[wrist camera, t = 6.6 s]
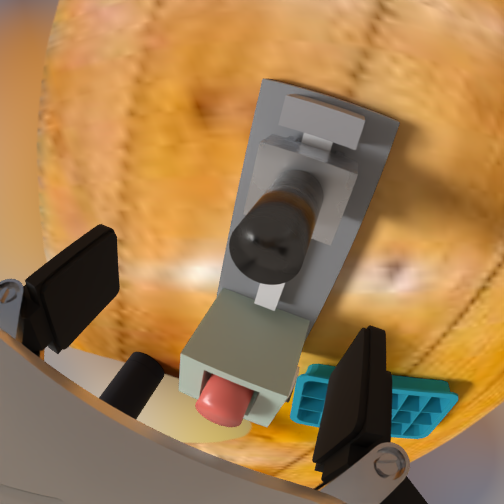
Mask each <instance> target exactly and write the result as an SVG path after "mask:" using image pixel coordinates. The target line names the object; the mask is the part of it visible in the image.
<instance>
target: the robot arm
mask: <svg viewBox="0 0 504 504" xmlns="http://www.w3.org/2000/svg"><path fill="white" fill-rule="evenodd" d="M25 282H26V285H25V286H23V285H22V283H21V282H20V281H18V280H16V279H6V280H3V281H1V282H0V504H428V503H427V502H426V501H425V499H424V498H423V497H422V495H421V494H420V493H419V492H418V490H417V489H416V488H415V487H414V485H413V484H412V483H411V481H410V480H409V479H408V477H407V474H408V472H409V468H410V461H409V458H408V455H407V453H406V452H405V450H404V449H403V448H402V447H400V446H399V445H397V444H395V443H390V441H391V423H392V374H391V372H389V371H386V333H385V330H382V329H379V328H376V327H373V326H368V327H367V329H366V328H362V329H361V330H360V332H359V333H358V335H357V336H356V338H355V339H354V341H353V342H352V344H351V345H350V347H349V348H348V350H347V351H346V353H345V354H344V356H343V357H342V359H341V360H340V362H339V363H338V364H337V366H336V367H335V369H334V370H333V372H332V373H331V375H330V378H329V381H328V387H327V392H326V398H325V403H324V408H323V413H322V418H321V423H320V428H319V432H318V437H317V441H316V446H315V450H314V454H313V460H312V461H313V462H314V463H316V467H315V471H319V472H323V474H322V478H321V479H322V481H323V482H322V483H320V484H319V485H317V486H316V487H315V488H313V489H312V488H309V487H306V486H302V485H299V484H296V483H293V482H290V481H286V480H283V479H279V478H276V477H273V476H270V475H266V474H263V473H260V472H257V471H254V470H251V469H248V468H246V467H243V466H240V465H237V464H234V463H231V462H229V461H226V460H223V459H221V458H218V457H216V456H213V455H210V454H208V453H206V452H203V451H201V450H198V449H196V448H194V447H191V446H189V445H187V444H184V443H182V442H180V441H178V440H176V439H173V438H171V437H169V436H167V435H165V434H163V433H161V432H159V431H157V430H155V429H153V428H151V427H149V426H146V425H145V424H143V423H141V422H139V421H137V420H136V419H134V418H132V417H130V416H128V415H126V414H125V413H123V412H121V411H119V410H118V409H116V408H114V407H112V406H111V405H109V404H107V403H106V402H104V401H102V400H101V399H99V398H97V397H96V396H94V395H92V394H91V393H90V392H88V391H86V390H85V389H83V388H82V387H80V386H79V385H77V384H76V383H74V382H73V381H71V380H70V379H68V378H67V377H65V376H64V375H62V374H61V373H60V372H58V371H57V370H56V369H54V368H53V367H51V366H50V365H48V364H47V363H46V362H44V349H45V348H46V347H47V346H48V347H49V348H50V349H51V350H53V351H54V352H56V353H57V354H59V352H60V351H61V350H62V349H66V348H67V347H69V345H70V344H71V343H72V342H73V341H74V340H75V339H76V338H77V337H78V336H79V334H80V333H81V332H82V331H83V330H84V329H85V328H86V327H87V326H88V325H89V324H90V323H91V322H92V320H93V319H94V318H95V317H96V316H97V315H98V314H99V313H100V312H101V311H102V310H103V309H104V308H105V307H106V306H107V305H108V304H109V303H110V302H111V301H112V300H113V298H114V297H115V296H116V295H117V294H118V292H119V287H120V286H119V272H118V253H117V236H116V234H115V232H114V230H113V229H112V228H109V227H107V226H104V225H102V224H99V225H97V226H96V227H94V228H93V229H92V230H90V231H89V232H87V233H86V234H85V235H83V236H82V237H80V238H79V239H78V240H76V241H75V242H73V243H72V244H71V245H69V246H68V247H67V248H65V249H64V250H63V251H61V252H60V253H59V254H57V255H56V256H55V257H53V258H52V259H51V260H50V261H48V262H47V263H46V264H44V265H43V266H42V267H41V268H39V269H38V270H37V271H36V272H34V273H33V274H32V275H31V276H29V277H28V278H27V279H26V280H25Z"/></svg>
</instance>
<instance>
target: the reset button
mask: <svg viewBox="0 0 504 504" xmlns="http://www.w3.org/2000/svg"><path fill="white" fill-rule="evenodd" d="M253 393H254V390H252V389H249V388H247V387H244V386H241V385H239V384H236V383H234V382H231V381H229V380H227V379H224V378H222V377H219V376H217V375H215V374H211V376H210V378H209V380H208V382H207V384H206V386H205V387H204V389H203V391H202V393H201V395H200V397H199V399H198V400H197V402H196V405H195V406H196V409H197V411H198V412H199V413H200V414H201V415H202V416H203V417H205V418H206V419H208V420H210V421H211V422H213V423H216V424H218V425H221V426H226V427H236V426H239V425H240V424H241V422H242V420H243V417H244V415H245V412H246V410H247V408H248V405H249V403H250V400H251V398H252V395H253Z"/></svg>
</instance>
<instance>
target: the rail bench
mask: <svg viewBox="0 0 504 504" xmlns="http://www.w3.org/2000/svg"><path fill="white" fill-rule="evenodd" d="M399 124H400V122H398V121H397V120H395V119H393V118H390V117H388V116H385V115H383V114H380V113H378V112H375V111H372V110H370V109H367V108H364V107H362V106H359V105H356V104H353V103H350V102H348V101H345V100H342V99H339V98H336V97H332V96H329V95H326V94H323V93H320V92H316V91H313V90H309V89H306V88H302V87H299V86H295V85H291V84H287V83H284V82H280V81H276V80H271V79H263V80H262V84H261V88H260V93H259V97H258V101H257V106H256V110H255V114H254V119H253V123H252V128H251V132H250V137H249V141H248V146H247V150H246V155H245V159H244V164H243V169H242V173H241V178H240V183H239V187H238V192H237V197H236V202H235V207H234V211H233V216H232V221H231V226H230V231H229V236H228V241H227V246H226V251H225V256H224V261H223V266H222V271H221V277H220V282H219V287H218V292H217V298H216V300H215V301H214V303H213V304H212V306H211V307H210V309H209V311H208V312H207V314H206V315H205V317H204V318H203V320H202V321H201V323H200V324H199V326H198V327H197V329H196V331H195V332H194V334H193V335H192V337H191V338H190V340H189V341H188V343H187V344H186V346H185V347H184V349H183V351H182V352H181V357H180V374H179V391H180V392H182V393H184V394H186V395H189V396H191V397H193V398H195V399H197V400H198V399H199V397H200V395H201V393H202V391H203V389H204V387H205V386H206V384H207V382H208V380H209V378H210V376H211V374H215V375H217V376H219V377H222V378H224V379H227V380H229V381H231V382H234V383H236V384H239V385H241V386H244V387H247V388H249V389H252V390H254V393H253V395H252V398H251V400H250V403H249V405H248V408H247V410H246V412H245V415H244V417H243V419H246V420H248V421H251V422H254V423H256V424H259V425H262V426H265V427H268V425H269V424H270V423H271V421H272V420H273V418H274V417H275V415H276V414H277V412H278V411H279V409H280V408H281V406H282V405H283V403H284V402H289V401H290V397H291V394H292V391H293V387H294V385H295V382H296V379H297V376H298V373H299V367H298V366H297V365H298V362H299V358H300V355H301V351H302V348H303V344H304V342H305V340H306V338H307V336H308V334H309V333H310V331H311V329H312V327H313V325H314V323H315V321H316V319H317V317H318V315H319V313H320V311H321V309H322V307H323V305H324V303H325V301H326V299H327V297H328V295H329V293H330V291H331V289H332V287H333V285H334V283H335V280H336V278H337V276H338V274H339V272H340V270H341V268H342V266H343V263H344V261H345V259H346V257H347V255H348V252H349V250H350V248H351V246H352V244H353V241H354V239H355V237H356V234H357V232H358V230H359V227H360V225H361V223H362V220H363V218H364V216H365V213H366V211H367V209H368V206H369V204H370V201H371V199H372V196H373V194H374V191H375V189H376V186H377V184H378V181H379V179H380V176H381V173H382V171H383V168H384V166H385V163H386V160H387V158H388V155H389V152H390V149H391V147H392V144H393V141H394V138H395V135H396V132H397V130H398V127H399ZM272 134H275V135H278V136H282V137H285V138H287V137H289V136H294V137H297V138H298V142H301V143H304V144H307V145H310V146H313V147H316V148H319V149H322V150H325V151H328V152H331V153H334V154H336V151H339V152H341V153H344V157H345V158H348V159H350V160H353V161H356V162H358V176H357V179H356V182H355V184H354V187H353V190H352V192H351V195H350V198H349V200H348V203H347V205H346V208H345V211H344V213H343V216H342V218H341V221H340V223H339V226H338V228H337V231H336V233H335V236H334V238H333V241H332V243H331V246H330V245H328V244H325V243H322V242H319V241H317V240H314V239H311V241H310V244H309V247H308V250H307V253H306V256H305V259H304V262H303V264H302V267H301V269H300V271H299V273H298V274H297V275H296V276H295V277H294V278H293V279H291V280H290V281H288V282H285V283H283V284H278V285H267V284H262V283H258V282H256V281H253V280H252V279H250V278H248V277H247V276H245V275H244V274H243V273H242V272H241V271H240V270H239V269H238V268H237V267H236V265H235V264H234V262H233V260H232V258H231V255H230V250H229V241H230V237H231V235H232V232H233V231H234V229H235V228H236V227H237V226H238V224H239V223H240V222H241V221H242V220H243V218H244V217H245V216H246V215H244V214H243V213H244V209H245V204H246V200H247V195H248V191H249V187H250V182H251V178H252V173H253V169H254V165H255V160H256V156H257V152H258V148H259V143H260V141H262V140H264V139H265V138H267V137H268V136H270V135H272Z"/></svg>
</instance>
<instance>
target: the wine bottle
mask: <svg viewBox="0 0 504 504" xmlns="http://www.w3.org/2000/svg"><path fill="white" fill-rule="evenodd" d="M163 377H164V371H163V369H162V367H161V366H160V365H159V364H158V363H157V362H156V361H155V360H154V359H152V358H151V357H149V356H148V355H146V354H143V353H141V352H134V353H133V354H132V355H131V356H130V358H129V359H128V360H127V361H126V363H125V364H124V366H123V367H122V368H121V369H120V371H119V372H118V373H117V375H116V376H115V378H114V379H113V380H112V381H111V383H110V384H109V385H108V387H107V388H106V389H105V391H104V392H103V393H102V395H101V396H100V397H99V399H101V400H102V401H104V402H106V403H107V404H109V405H111V406H112V407H114V408H116V409H118V410H119V411H121V412H123V413H125V414H126V415H128V416H130V417H132V418H134V419H137V417H138V415H139V414H140V412H141V411H142V409H143V408H144V406H145V405H146V403H147V402H148V400H149V398H150V397H151V395H152V394H153V392H154V391H155V389H156V388H157V386H158V385H159V383H160V382H161V380H162V379H163Z"/></svg>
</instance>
